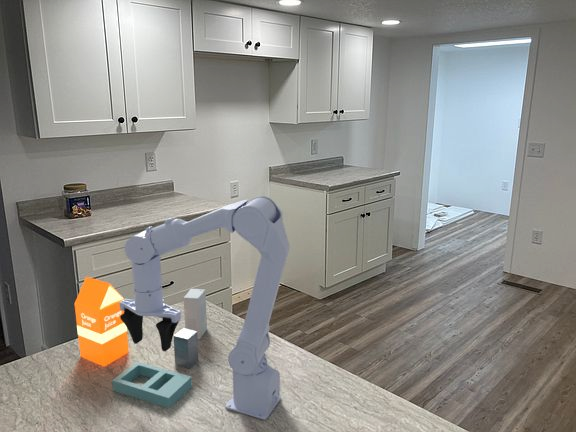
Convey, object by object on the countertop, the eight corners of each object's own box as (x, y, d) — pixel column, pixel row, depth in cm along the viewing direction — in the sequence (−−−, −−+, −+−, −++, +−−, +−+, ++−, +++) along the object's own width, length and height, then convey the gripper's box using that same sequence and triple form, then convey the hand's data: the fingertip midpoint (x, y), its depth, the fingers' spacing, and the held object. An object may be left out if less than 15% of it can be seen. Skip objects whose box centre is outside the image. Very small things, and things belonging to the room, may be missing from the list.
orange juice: (104, 366, 112) (96, 289, 107) (79, 356, 116) (71, 281, 111) (129, 351, 119) (123, 278, 114) (105, 342, 123) (98, 271, 118)
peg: (198, 360, 115) (197, 331, 113) (189, 369, 111) (187, 339, 109) (184, 357, 117) (183, 328, 114) (175, 365, 113) (173, 335, 111)
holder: (191, 386, 105) (191, 376, 104) (169, 408, 98) (168, 398, 97) (138, 370, 111) (137, 361, 110) (113, 390, 103) (112, 380, 103)
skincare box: (192, 327, 131) (190, 288, 128) (207, 329, 130) (205, 289, 127) (185, 338, 125) (182, 297, 122) (200, 340, 125) (198, 298, 122)
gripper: (188, 285, 99) (190, 343, 103) (133, 275, 105) (137, 330, 108) (167, 298, 93) (171, 359, 97) (110, 286, 99) (115, 344, 102)
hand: (152, 345), depth 102 cm, fingers open, 7 cm apart
